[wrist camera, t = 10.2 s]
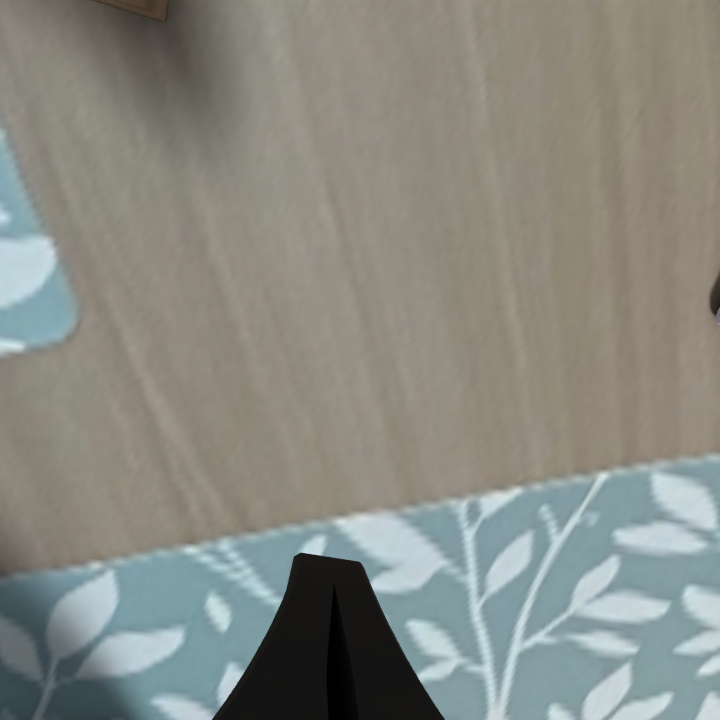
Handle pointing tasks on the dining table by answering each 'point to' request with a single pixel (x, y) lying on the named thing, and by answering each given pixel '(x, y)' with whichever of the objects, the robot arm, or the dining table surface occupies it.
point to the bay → (141, 7)
